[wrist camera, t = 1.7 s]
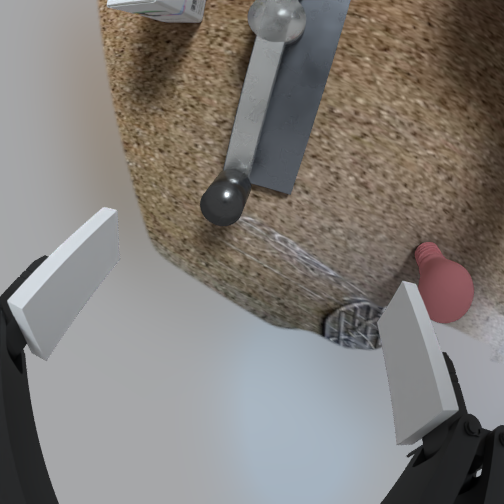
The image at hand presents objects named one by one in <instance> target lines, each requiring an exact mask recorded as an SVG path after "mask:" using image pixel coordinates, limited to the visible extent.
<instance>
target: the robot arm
mask: <svg viewBox="0 0 504 504" xmlns="http://www.w3.org/2000/svg"><path fill="white" fill-rule="evenodd" d="M119 260H120V252H119V236H118V210H114V209H110V208H106V207H103V208H102V209H101V210H100V211H98V212H97V213H96V214H95V215H94V216H93V217H91V218H90V219H89V220H88V221H87V222H86V223H85V224H83V225H82V226H81V227H80V228H79V229H78V230H77V231H76V232H74V233H73V235H71V236H70V237H69V238H68V239H67V240H66V241H65V242H64V243H63V244H62V245H60V246H59V247H58V249H56V250H55V251H54V252H53V253H52V254H51V255H50V256H49V257H48V256H46V255H45V256H43V257H41V258H39V259H37V260H35V261H34V262H33V263H32V264H31V265H30V266H29V267H28V268H27V269H26V271H24V272H23V273H22V274H21V275H20V277H18V278H17V279H16V280H15V281H14V282H13V283H12V284H11V285H10V287H9V288H8V289H7V290H6V291H5V292H4V293H3V294H2V295H1V296H0V504H59V503H58V500H57V498H56V495H55V492H54V489H53V487H52V484H51V481H50V478H49V475H48V471H47V469H46V465H45V462H44V458H43V454H42V451H41V447H40V443H39V439H38V435H37V431H36V426H35V421H34V416H33V411H32V405H31V399H30V392H29V385H28V378H27V369H26V358H25V353H24V350H23V348H24V347H25V346H26V344H28V346H29V348H30V350H31V352H32V353H33V354H35V355H36V356H38V357H40V358H42V359H44V360H45V361H47V359H48V358H49V356H50V355H51V353H52V351H53V350H54V349H55V347H56V346H57V344H58V343H59V341H60V340H61V338H62V337H63V335H64V334H65V332H66V331H67V329H68V328H69V326H70V325H71V324H72V322H73V321H74V319H75V318H76V317H77V315H78V314H79V312H80V311H81V310H82V308H83V307H84V306H85V304H86V303H87V301H88V300H89V299H90V297H91V296H92V295H93V293H94V292H95V291H96V289H97V288H98V287H99V285H100V284H101V283H102V282H103V280H104V279H105V277H106V276H107V275H108V274H109V273H110V271H111V270H112V269H113V268H114V266H115V265H116V264H117V262H118V261H119ZM377 324H378V329H379V334H380V339H381V344H382V349H383V354H384V359H385V364H386V370H387V376H388V382H389V387H390V393H391V394H390V395H391V401H392V408H393V416H394V424H395V433H396V442H397V445H410V444H414V443H415V442H417V441H418V440H420V439H421V438H422V441H423V445H421V446H420V447H418V448H417V449H415V450H413V451H412V452H410V453H409V454H408V455H407V457H410V456H411V455H413V454H414V456H413V458H412V459H411V461H410V462H409V464H408V465H407V467H406V468H405V470H404V472H403V473H402V474H401V476H400V478H399V479H398V480H397V482H396V483H395V485H394V486H393V487H392V489H391V490H390V492H389V493H388V494H387V496H386V497H385V498H384V500H383V501H382V502H381V504H504V425H500V426H498V427H497V428H495V429H494V430H493V431H490V430H486V429H483V428H482V427H481V424H480V422H479V420H478V419H477V418H476V417H475V416H473V415H472V414H468V413H467V410H466V406H465V402H464V399H463V395H462V391H461V388H460V385H459V383H458V378H457V375H455V374H456V372H455V368H454V365H453V363H452V361H451V359H450V358H449V356H448V355H447V353H446V352H442V351H441V348H440V345H439V342H438V339H437V336H436V333H435V331H434V328H433V325H432V323H431V320H430V317H429V315H428V312H427V310H426V307H425V305H424V302H423V300H422V297H421V295H420V293H419V290H418V288H417V285H416V284H414V283H410V282H406V281H402V283H401V284H400V286H399V288H398V289H397V291H396V293H395V295H394V296H393V298H392V300H391V301H390V303H389V304H388V306H387V308H386V309H385V311H384V312H383V314H382V316H381V317H380V319H379V320H378V322H377ZM480 469H482V472H481V475H480V476H479V477H476V473H477V471H478V470H480Z"/></svg>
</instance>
